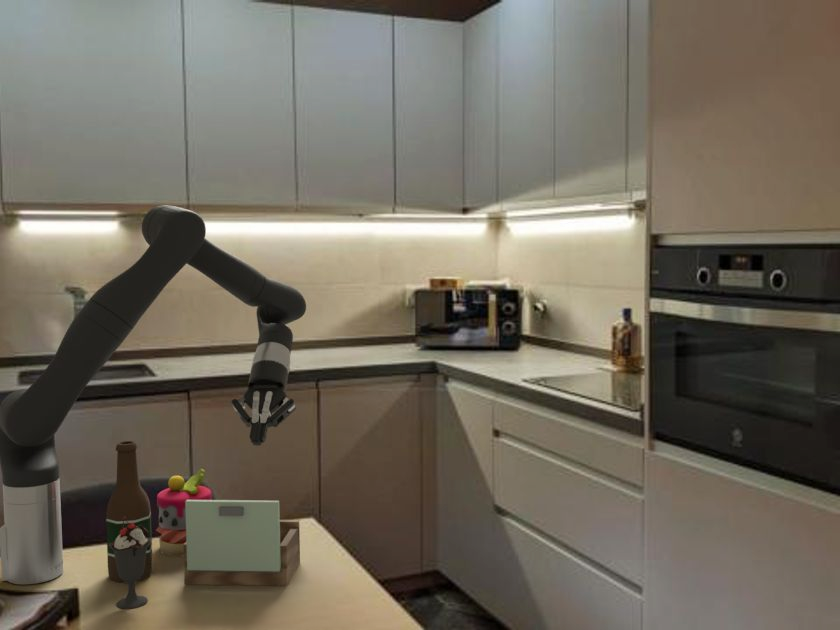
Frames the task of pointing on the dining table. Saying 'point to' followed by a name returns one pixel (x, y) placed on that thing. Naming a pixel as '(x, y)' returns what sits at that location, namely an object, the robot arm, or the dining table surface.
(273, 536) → the pale green panel
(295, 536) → the wooden box
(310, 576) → the dining table surface
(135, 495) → the beer bottle
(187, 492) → the cake
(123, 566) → the sundae
